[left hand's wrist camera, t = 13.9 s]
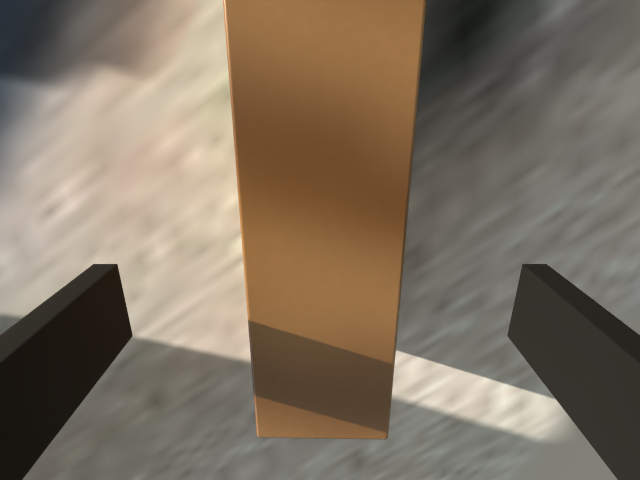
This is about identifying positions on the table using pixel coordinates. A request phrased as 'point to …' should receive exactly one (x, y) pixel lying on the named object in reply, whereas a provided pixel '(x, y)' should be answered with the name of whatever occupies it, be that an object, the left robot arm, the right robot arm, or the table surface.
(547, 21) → the table surface
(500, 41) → the table surface
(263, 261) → the bar
